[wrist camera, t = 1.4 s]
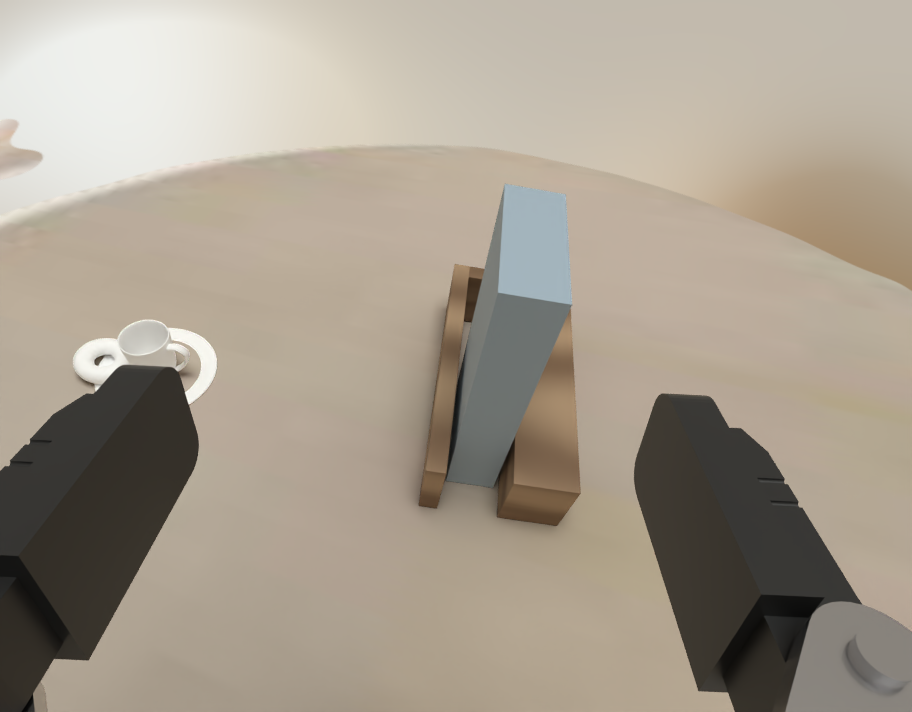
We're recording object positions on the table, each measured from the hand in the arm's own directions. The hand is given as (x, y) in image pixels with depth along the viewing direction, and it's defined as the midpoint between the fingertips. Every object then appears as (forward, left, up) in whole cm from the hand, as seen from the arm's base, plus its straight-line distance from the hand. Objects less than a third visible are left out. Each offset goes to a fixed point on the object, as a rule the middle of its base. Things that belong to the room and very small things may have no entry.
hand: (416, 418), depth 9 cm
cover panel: (-8, +14, -26) cm, 31 cm away
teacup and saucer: (-28, -1, -27) cm, 39 cm away
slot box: (-9, +17, -26) cm, 33 cm away
